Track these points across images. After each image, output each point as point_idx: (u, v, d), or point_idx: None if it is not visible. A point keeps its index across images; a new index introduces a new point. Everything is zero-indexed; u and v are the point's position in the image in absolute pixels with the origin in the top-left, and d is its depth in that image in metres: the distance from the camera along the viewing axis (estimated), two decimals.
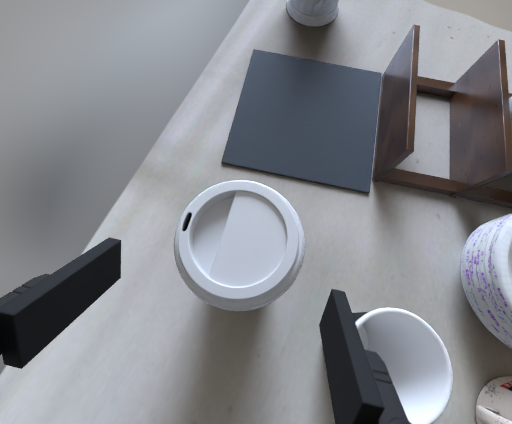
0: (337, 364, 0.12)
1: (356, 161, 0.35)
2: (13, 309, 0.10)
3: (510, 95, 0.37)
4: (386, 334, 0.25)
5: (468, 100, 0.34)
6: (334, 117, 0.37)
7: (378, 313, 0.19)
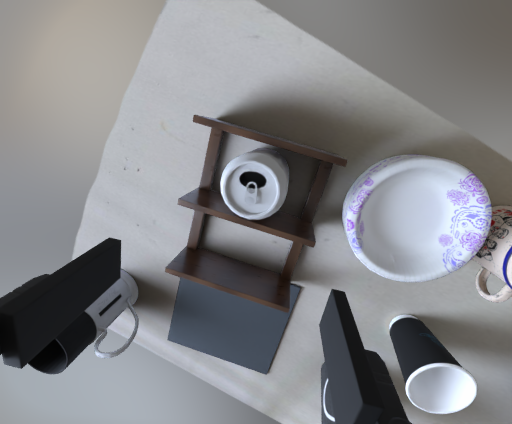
0: (337, 364, 0.12)
1: None
2: (13, 309, 0.10)
3: (211, 142, 0.37)
4: None
5: None
6: (231, 297, 0.45)
7: (408, 391, 0.32)
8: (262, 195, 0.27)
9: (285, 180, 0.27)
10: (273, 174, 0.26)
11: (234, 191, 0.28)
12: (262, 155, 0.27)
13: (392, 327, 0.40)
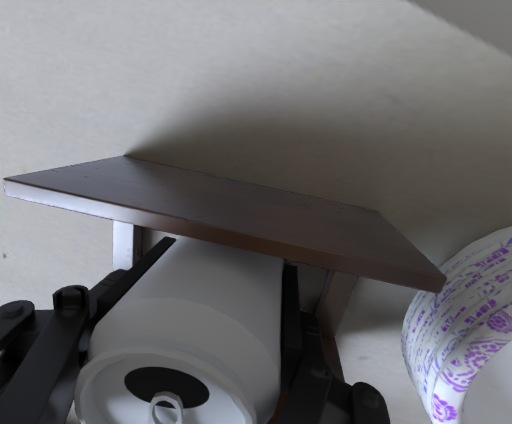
0: None
1: None
2: (111, 298, 0.11)
3: None
4: None
5: None
6: None
7: None
8: None
9: (271, 370, 0.09)
10: (226, 389, 0.07)
11: (119, 412, 0.09)
12: (190, 306, 0.08)
13: None
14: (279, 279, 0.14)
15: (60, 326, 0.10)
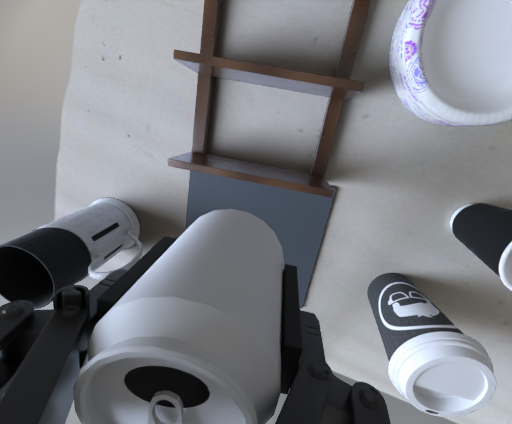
0: None
1: (302, 197, 0.35)
2: (111, 298, 0.11)
3: None
4: None
5: (236, 76, 0.28)
6: (252, 214, 0.37)
7: (504, 270, 0.24)
8: (204, 423, 0.09)
9: (271, 369, 0.09)
10: (227, 387, 0.07)
11: (120, 411, 0.09)
12: (190, 305, 0.08)
13: (456, 219, 0.33)
14: (279, 278, 0.14)
15: (60, 326, 0.10)
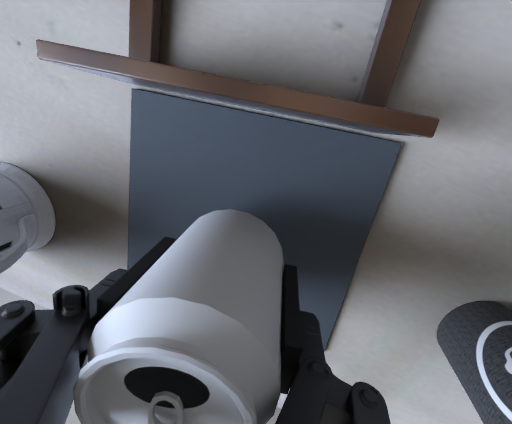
0: None
1: (334, 161, 0.19)
2: (111, 298, 0.11)
3: None
4: None
5: None
6: (242, 193, 0.21)
7: None
8: None
9: (271, 370, 0.09)
10: (227, 388, 0.07)
11: (119, 411, 0.09)
12: (190, 306, 0.08)
13: None
14: (279, 279, 0.14)
15: (60, 326, 0.10)
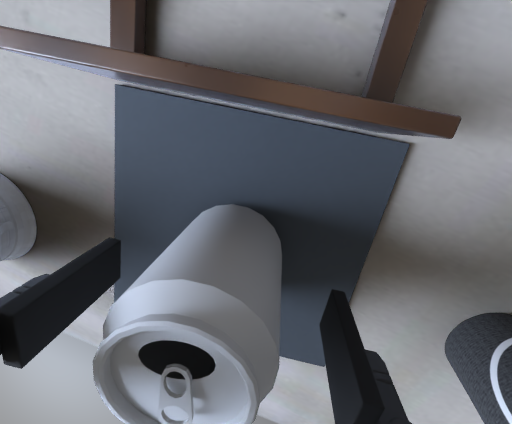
0: (337, 364, 0.12)
1: (336, 163, 0.17)
2: (13, 309, 0.10)
3: None
4: None
5: None
6: (237, 197, 0.19)
7: None
8: (210, 394, 0.10)
9: (270, 345, 0.10)
10: (231, 357, 0.08)
11: (133, 384, 0.10)
12: (198, 286, 0.09)
13: None
14: (278, 268, 0.15)
15: None
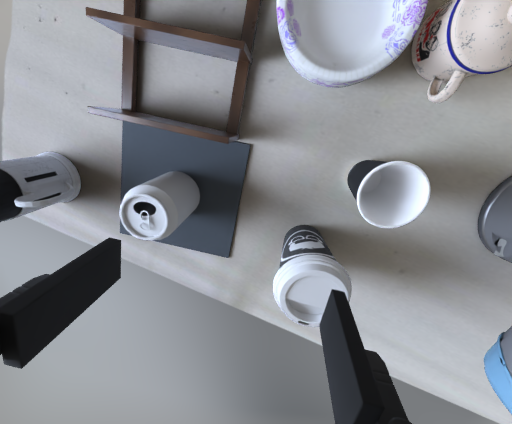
0: (337, 364, 0.12)
1: (221, 153, 0.40)
2: (13, 309, 0.10)
3: None
4: (368, 164, 0.34)
5: (151, 38, 0.33)
6: (179, 168, 0.41)
7: (360, 203, 0.30)
8: (155, 220, 0.32)
9: (174, 206, 0.32)
10: (159, 203, 0.31)
11: (131, 219, 0.32)
12: (151, 187, 0.32)
13: (349, 173, 0.38)
14: (189, 194, 0.37)
15: None
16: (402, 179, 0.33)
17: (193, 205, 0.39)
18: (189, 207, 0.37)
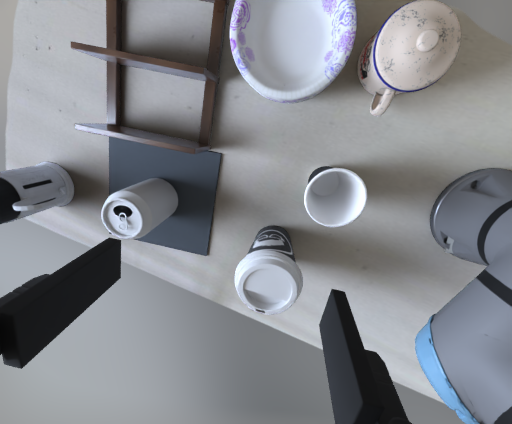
0: (337, 364, 0.12)
1: (196, 161, 0.44)
2: (13, 309, 0.10)
3: (108, 0, 0.37)
4: (321, 170, 0.39)
5: (129, 63, 0.38)
6: (159, 175, 0.46)
7: (307, 205, 0.34)
8: (132, 221, 0.37)
9: (148, 209, 0.37)
10: (134, 206, 0.35)
11: (112, 220, 0.37)
12: (128, 192, 0.36)
13: None
14: (166, 198, 0.42)
15: None
16: (350, 183, 0.37)
17: (170, 208, 0.43)
18: (165, 210, 0.42)
